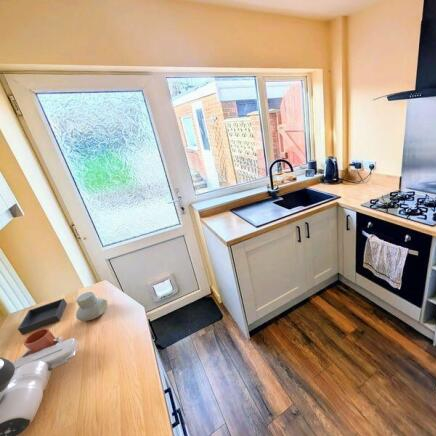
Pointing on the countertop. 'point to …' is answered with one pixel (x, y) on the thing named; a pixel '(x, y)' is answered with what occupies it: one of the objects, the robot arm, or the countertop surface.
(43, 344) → the tumbler
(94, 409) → the countertop surface
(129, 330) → the countertop surface
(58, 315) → the tray
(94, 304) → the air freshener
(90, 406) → the countertop surface
